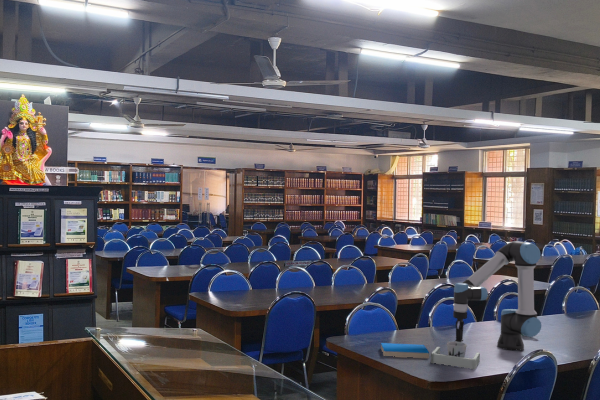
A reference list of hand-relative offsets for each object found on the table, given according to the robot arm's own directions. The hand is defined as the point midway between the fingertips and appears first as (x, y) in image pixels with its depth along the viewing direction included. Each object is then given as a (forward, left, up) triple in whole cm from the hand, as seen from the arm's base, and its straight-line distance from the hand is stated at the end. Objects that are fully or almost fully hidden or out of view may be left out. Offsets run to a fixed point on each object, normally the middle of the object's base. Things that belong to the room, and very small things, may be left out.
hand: (458, 352), depth 311 cm
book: (+28, +10, -3) cm, 30 cm away
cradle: (0, +11, -2) cm, 12 cm away
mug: (0, +10, -2) cm, 10 cm away
